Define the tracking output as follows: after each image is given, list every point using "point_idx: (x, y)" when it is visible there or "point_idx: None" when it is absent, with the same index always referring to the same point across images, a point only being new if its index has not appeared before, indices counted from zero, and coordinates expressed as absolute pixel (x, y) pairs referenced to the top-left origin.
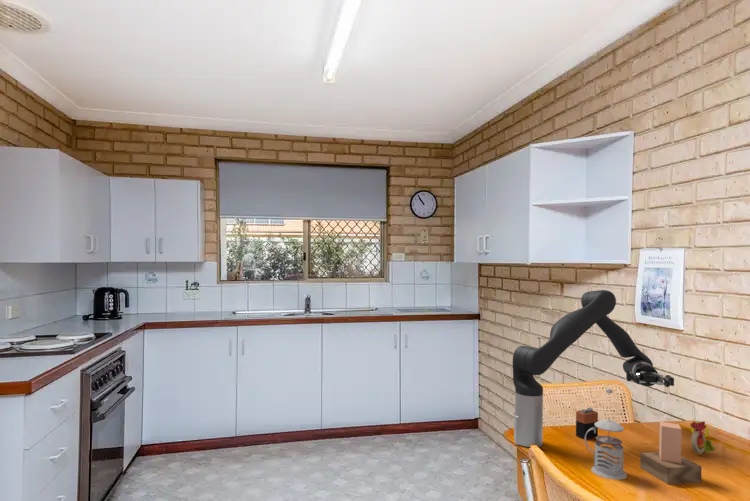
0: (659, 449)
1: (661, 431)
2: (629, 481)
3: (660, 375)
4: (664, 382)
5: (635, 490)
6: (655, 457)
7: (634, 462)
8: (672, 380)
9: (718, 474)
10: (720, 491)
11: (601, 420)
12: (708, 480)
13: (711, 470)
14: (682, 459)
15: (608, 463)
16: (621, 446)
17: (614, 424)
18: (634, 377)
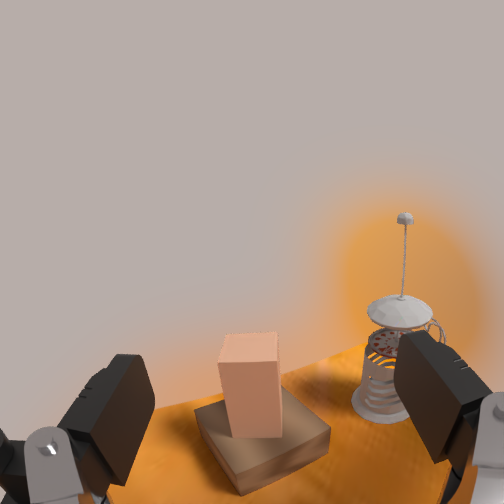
0: (281, 420)
1: (278, 349)
2: (344, 386)
3: (68, 500)
4: (118, 447)
5: (331, 365)
6: (294, 417)
7: (343, 478)
8: (10, 443)
9: (134, 480)
10: (181, 411)
11: (420, 304)
12: (179, 447)
13: (138, 499)
14: (224, 431)
15: (394, 411)
16: (371, 363)
17: (386, 297)
18: (463, 363)
